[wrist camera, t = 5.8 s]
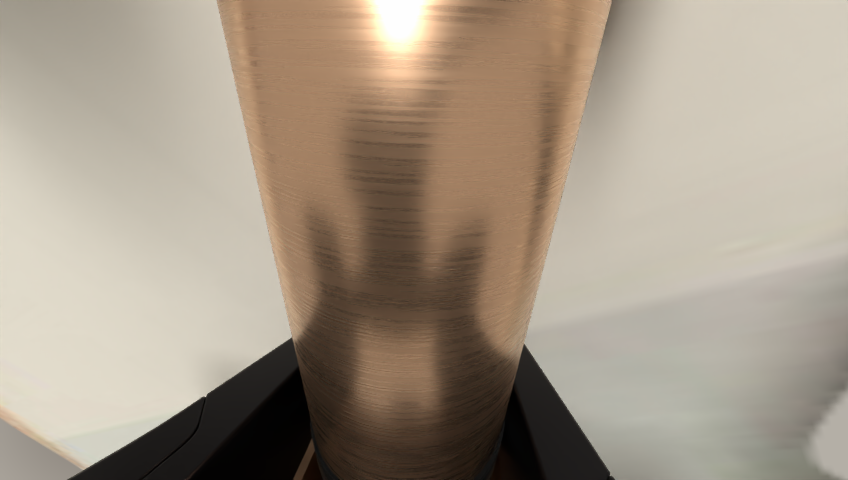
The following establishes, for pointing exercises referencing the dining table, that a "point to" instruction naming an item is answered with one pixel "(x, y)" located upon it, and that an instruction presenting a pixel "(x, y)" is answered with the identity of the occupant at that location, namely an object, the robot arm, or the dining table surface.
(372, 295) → the tube
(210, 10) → the dining table surface
